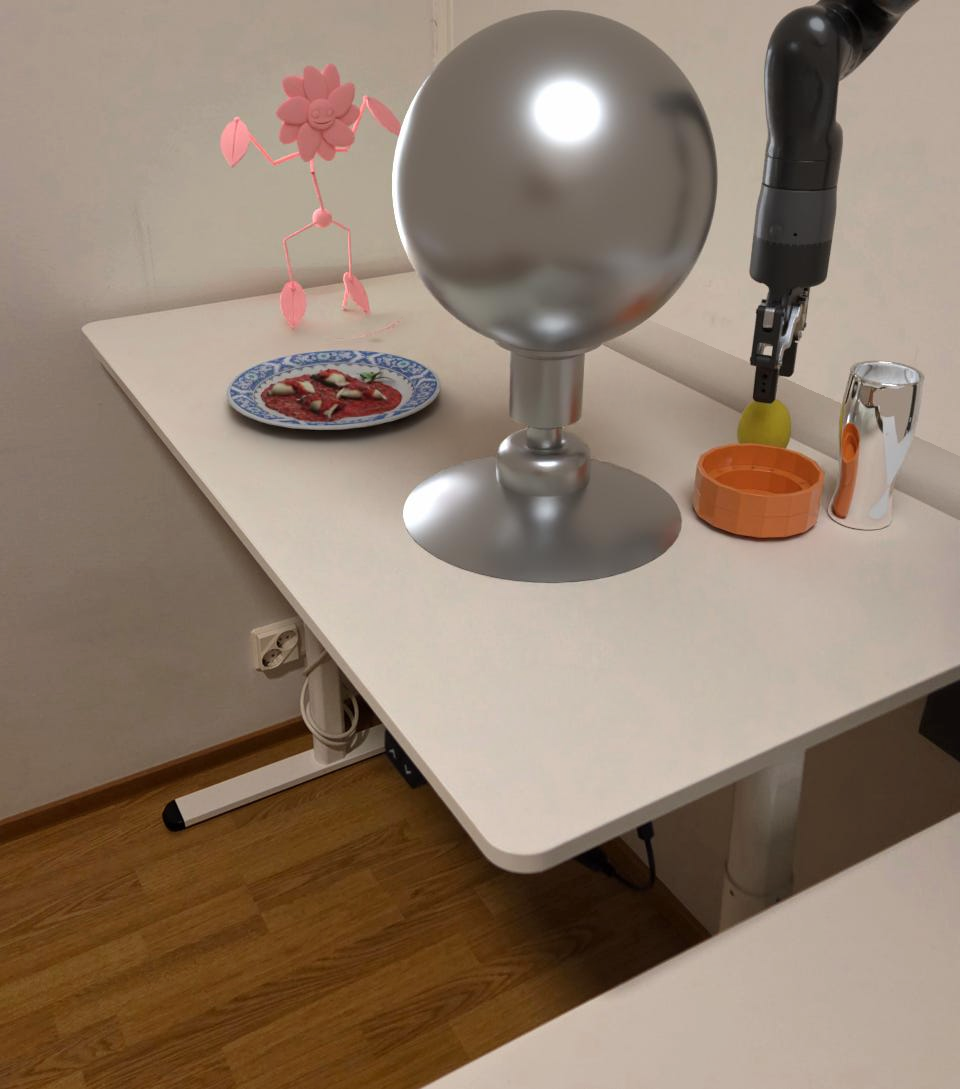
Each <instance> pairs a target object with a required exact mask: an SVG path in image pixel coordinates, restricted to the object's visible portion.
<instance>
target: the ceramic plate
mask: <svg viewBox="0 0 960 1089" xmlns="http://www.w3.org/2000/svg"><path fill="white" fill-rule="evenodd" d="M441 385H442V383H441V380H440V377H439V376H438V375H437V373H435V371H434V370H432V369H431V368H430V367H429V366H426V365H425V364H423V363H421V362H419V361H416V360H414V359H411V358H408V357H404V356H400V355H399V354H398V355H397V354H392V353H386V352H379V351H372V350H358V349H357V350H356V349H355V350H354V349H351V350H350V349H332V350H319V351H318V350H317V351H309V352H301V353H294V354H289V355H285V356H284V355H283V356H280V357H276V358H273V359H270V360H267V361H264V362H261V363H259V364H256V365H253V366H251V367H249V368H247V369H245V370H244V371H242V372H240V373H239V374H238V375H236V376H235V377H234V378H233V379H232V380H231V381H230V382H229V384H228V385H227V387H226V391H225V392H226V394H225V395H226V398H227V402H228V403H229V405H230V406H231V407H232V408H233V409H234V410H235V411H237V412H238V413H240V414H241V415H243V416H245V417H246V418H250V419H252V420H254V421H258V422H260V423H264V424H267V425H271V426H276V427H277V426H278V427H283V428H289V429H295V430H297V429H299V430H316V431H323V430H325V431H331V430H332V431H333V430H335V431H336V430H349V429H358V428H367V427H372V426H376V425H377V426H378V425H381V424H384V423H386V424H387V423H389V422H393V421H397V420H399V419H403V418H406V417H408V416H411V415H413V414H416V413H417V412H419V411H421V410H424V409H425V408H426V407H427V406H429V405H431V404H432V403H433V402H434V401H435V399H437V398H438V396H439V394H440V391H441Z"/></svg>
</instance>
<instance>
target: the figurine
mask: <svg viewBox="0 0 960 1089" xmlns="http://www.w3.org/2000/svg"><path fill="white" fill-rule="evenodd" d="M340 78H341V77H340V73H339V71H338V67H337V66H336V65H335V64H334V63H327V64H326V66H324V68H323V69H322V71H320V70H319V69H317V68H316V67H314V66H313V65H306V66H305V67H304V68H303V73H302V77H301V76H298V75H287V76H285V77H283V79H282V80H281V87H282V90H283V92H284V93H285V96H286V98H287V99H286V100H283V101H282V103H281V104H280V105H279V106H278V107H277V109H276V111H275V115H276V118H277V119H279V120H280V121H282V124H281V125H280V128H279V132H278V139H279V142H280V143H281V144H282V145H291V144H293V143H295V142H296V144H297V149H298V150H297V151H296V152H294V153H291V154H289V155H288V154H287V155H286V156H283V157H281V158H279V159H276V160H273V159H272V158H271V157H270V155H269V154H268V153H267V152H266V150H265V149H264V148H263V146H262V145H260V143H259V142H258V141H257V140H256V138H255V137H254V136H253V135H252V133H251V132H250V131H249V130H248V127H247V125H246V123H244V122H243V120H241V117H239V116H235V117H234V119H233V120H232V121H230V122H228V123H227V124H226V126H225V128H224V129H223V131H222V132H221V136H220V149H221V154H222V155H223V157H224V159H225V160H226V162H227V163H228V165H229V166H230V167H231V169H233V168H234V167H235V166H236V165H237V164H239V163H240V161H241V160H242V159H243V158H244V157H245V155H246V154H247V151H248V149H249V146H250V142H252V143H253V144H254V146H255V147H256V148H257V149H258V151H259V152H260V153H261V154H262V156H264V158H265V159H266V161H267V162H268V163H269V164H272V167H275V166H277V165H280V164H281V163H285V162H287V161H289V160H293V159H294V158H297V157H299V156H300V160H302V161H303V162H304V163H309V164H310V174H311V175H310V176H311V180H312V183H313V185H314V189H315V193H316V196H317V199H318V204H319V208H317V209H316V210H315V211H314V212H313V214H312V222H311V223H309V224H308V225H306V226H304V227H303V228H300V229H299V230H297V231H295V232H293V233H292V234H290V235H288V236H286V237H284V238H283V240H282V242H283V249H284V252H285V258H286V264H287V269H288V275H289V280H290V281H287V282H286V283H284V285H283V288H282V290H281V292H280V298H279V306H280V310H281V313H282V315H283V317H284V318H285V320H286V321H287V323H288V325H289V326H290V327H291V328H292V327H293V326H294V327H295V328H296V327H297V326H298V324H299V323H300V322H301V321H302V320H303V318H304V317H305V314H306V310H307V296H306V293H305V291H304V289H303V286H302V285H301V284H300V283H298V282H297V281H296V280H294V277H293V272H292V267H291V261H290V256H289V250H288V245H287V240H289V239H291V238H293V237H295V236H296V235H298V234H300V233H302V232H304V231H306V230H308V229H310V228H311V227H313V226H316V227H317V228H320V229H325V228H328V227H329V226H330V225H331V223H332V224H334V225H336V226H338V227H339V228H341V229H343V230H345V231H347V242H348V244H347V245H348V267H349V271H347V272H345V273H343V278H342V280H343V284H344V287H345V288H344V289H345V291H344V296H343V302H342V306H346V308H342V307H341V309H342V310H346V309H347V303H348V300H349V298H350V299H351V300H352V301H353V303H354V304H355V305H356V306H358V307H359V308H360V309H361V310H362V311H364V312H365V313H367V312H368V313H369V314H370V313H371V310H370V302H369V296H368V294H367V291H366V289H365V287H364V285H363V284H362V282H361V281H360V280H359V278H357V277H356V276H355V275H354V274H353V266H352V240H351V231H350V228H348V227H346V226H344V225H343V224H341V223H339V222H337V221H335V220H334V219H333V217H332V216H333V215H332V214H331V212H330V211H329V210H328V209H327V208H325V206H324V202H323V200H322V195H321V191H320V187H319V184H318V179H317V175H316V169H315V161H314V159H315V156H316V155H318V157H320V158H321V159H322V160H324V161H326V162H332V160H333V159H334V158H335V156H336V154H337V153H348V152H349V150H350V148H351V146H352V145H353V144H355V139H356V137H355V135H356V133H357V129H358V127H359V124H360V122H361V119H362V116H363V114H364V112H365V109H366V108H367V109H368V110H369V112H370V114H371V115H372V117H373V118H374V119H375V120H376V121H377V123H378V124H379V125H381V126H382V127H383V128H384V129H386V130H387V131H388V132H389V133H391V134H393V135H396V136H397V137H399V134H400V130H401V127H402V124H401V123H400V121H399V119H398V118H397V116H396V115H395V114H394V113H393V112H392V111H391V109H389V108H388V106H386V105H385V104H384V103H383V102H381V101H379V100H378V99H377V98H375V97H370V96H368V94H366V95H363V97H362V100H363V101H362V104H361V106H360V107H359V106H357V105H356V104H353V102H354V99H355V95H356V94H355V93H356V87H355V84H354V83H353V82H351V81H349V82H346V83H344V84H341V79H340ZM352 125H353V127H352V129H351V128H350V126H352ZM368 313H367V314H368ZM400 321H401V320H400V319H399V320H397V322H396V323H397V324H396V323H393V324H392V325H391V326H388V327H386V328H384V329H381V330H378V331H374V332H371V333H369V334H370V336H371V335H373V334H372V333H374V334H376V332H377V333H380V332H379V331H381V332H383V331H385V329H386V330H388V329H394V328H395V327H397V326H398V323H400ZM395 324H396V325H395ZM367 334H368V333H365V334H364V335H366V337H368V335H367Z"/></svg>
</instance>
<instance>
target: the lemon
mask: <svg viewBox="0 0 960 1089" xmlns="http://www.w3.org/2000/svg"><path fill="white" fill-rule="evenodd" d="M736 435H737V442H738V443H737V444H741V443H757V444H765V445H773V446H779V447H783V448H786V449H787V447H788V445H789V443H790V440H791V436H792V418H791V413H790V411H789V409H788V408H787V406H786V405H785V404H784V403H783V402H782V401H780V400H779V399H777V398H776V399H775V400H774V402H773V403H771V404H768V403H761V402H756V401H754V400H753V401H751V402H750V403H748V404H747V406H746V407H745V408H744V410H743V411H742V414H741V416H740V418H739V422H738V425H737V434H736Z"/></svg>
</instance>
